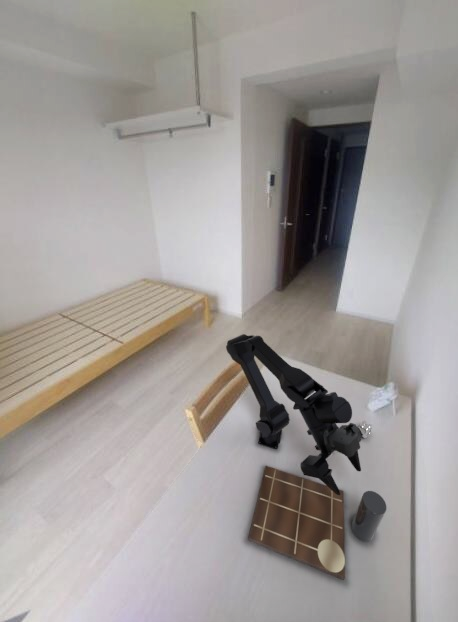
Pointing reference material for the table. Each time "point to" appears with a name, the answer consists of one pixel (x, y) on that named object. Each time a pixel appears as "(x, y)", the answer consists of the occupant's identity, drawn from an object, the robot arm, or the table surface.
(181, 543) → the table surface
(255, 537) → the board
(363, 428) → the metal grooved wheel
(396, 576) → the table surface
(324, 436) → the robot arm
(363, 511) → the dark grey cylinder
